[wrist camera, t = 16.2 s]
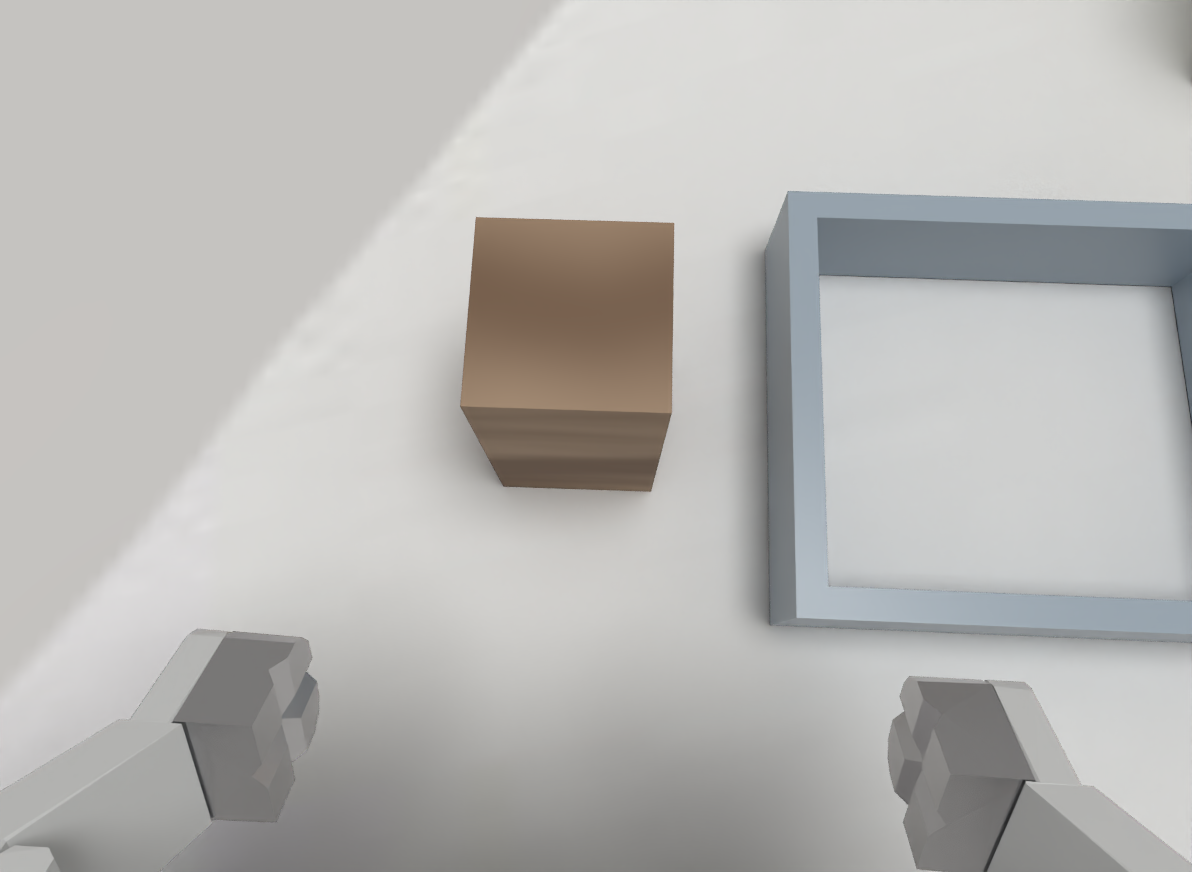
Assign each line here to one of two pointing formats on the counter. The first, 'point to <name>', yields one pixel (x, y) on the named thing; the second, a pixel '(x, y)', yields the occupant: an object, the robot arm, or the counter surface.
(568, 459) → the walnut block
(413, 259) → the counter surface
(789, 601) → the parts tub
